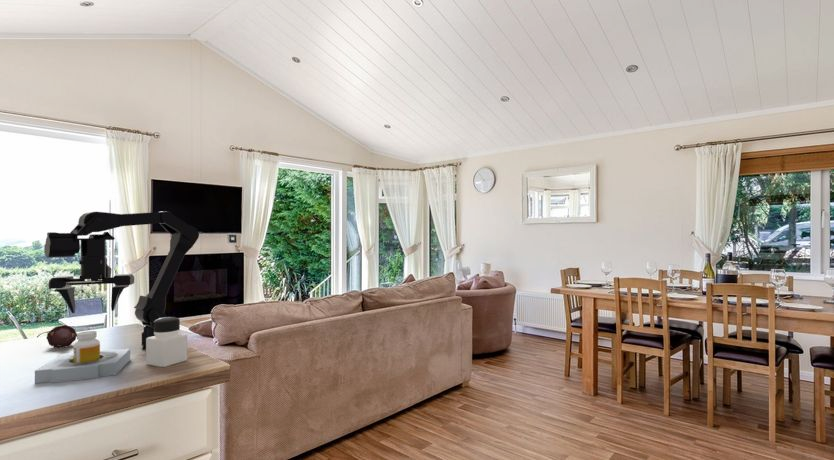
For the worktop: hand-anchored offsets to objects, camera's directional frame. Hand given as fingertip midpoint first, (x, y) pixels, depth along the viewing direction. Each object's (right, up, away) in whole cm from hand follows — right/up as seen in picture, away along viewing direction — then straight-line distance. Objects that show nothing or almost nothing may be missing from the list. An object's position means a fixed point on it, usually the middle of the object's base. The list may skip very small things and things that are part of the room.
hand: (93, 311), depth 122 cm
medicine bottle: (+23, -13, -5) cm, 27 cm away
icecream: (-19, -14, +13) cm, 27 cm away
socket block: (+7, -13, -11) cm, 18 cm away
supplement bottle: (+7, -13, -11) cm, 19 cm away
